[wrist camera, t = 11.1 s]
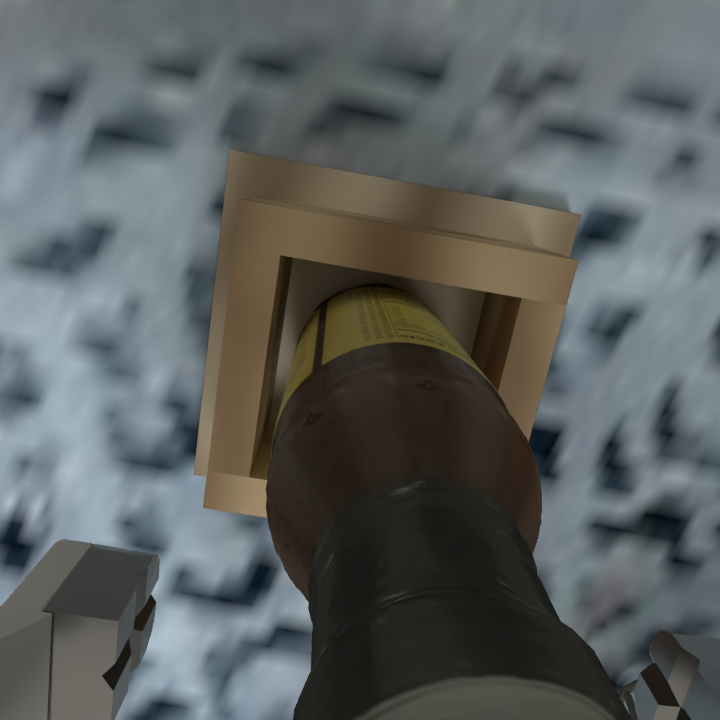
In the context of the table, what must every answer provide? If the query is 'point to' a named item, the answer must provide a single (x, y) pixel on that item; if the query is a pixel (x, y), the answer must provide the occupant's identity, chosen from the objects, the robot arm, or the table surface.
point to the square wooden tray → (357, 267)
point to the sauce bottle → (416, 529)
